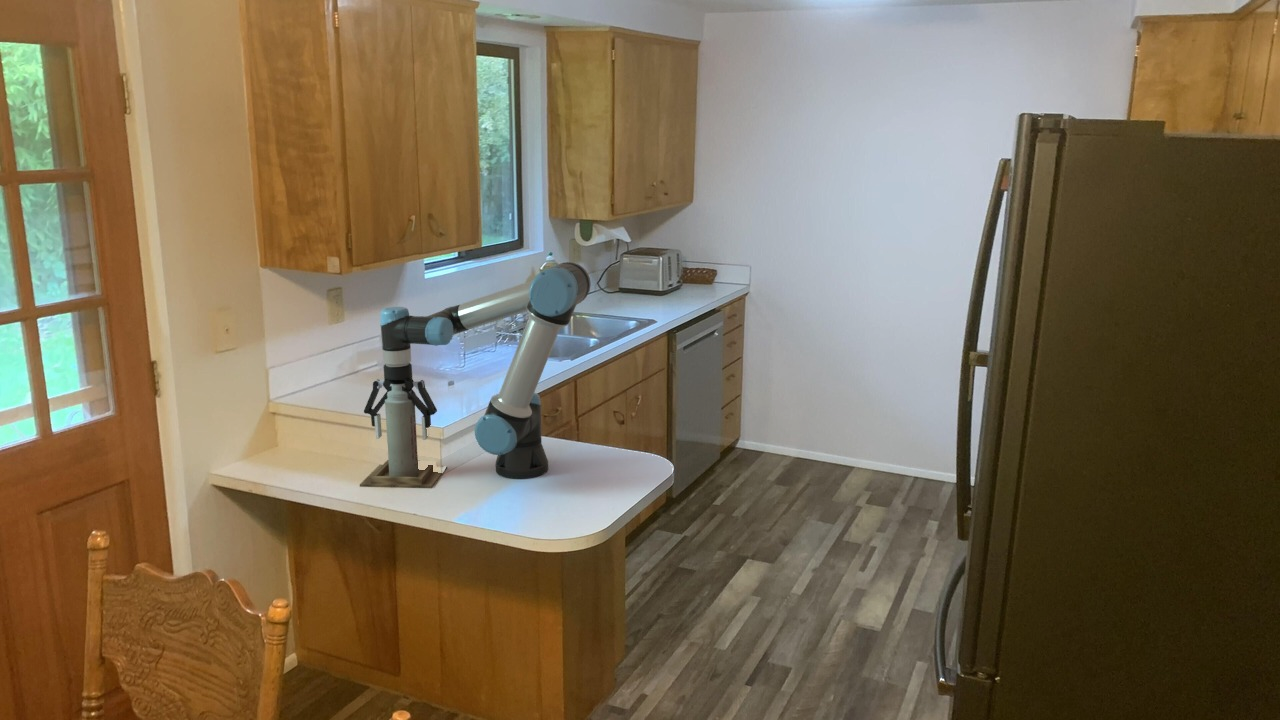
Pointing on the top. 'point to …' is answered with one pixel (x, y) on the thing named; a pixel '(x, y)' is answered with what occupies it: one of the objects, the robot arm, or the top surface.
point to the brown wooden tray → (401, 478)
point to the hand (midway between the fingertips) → (402, 437)
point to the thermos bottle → (401, 432)
